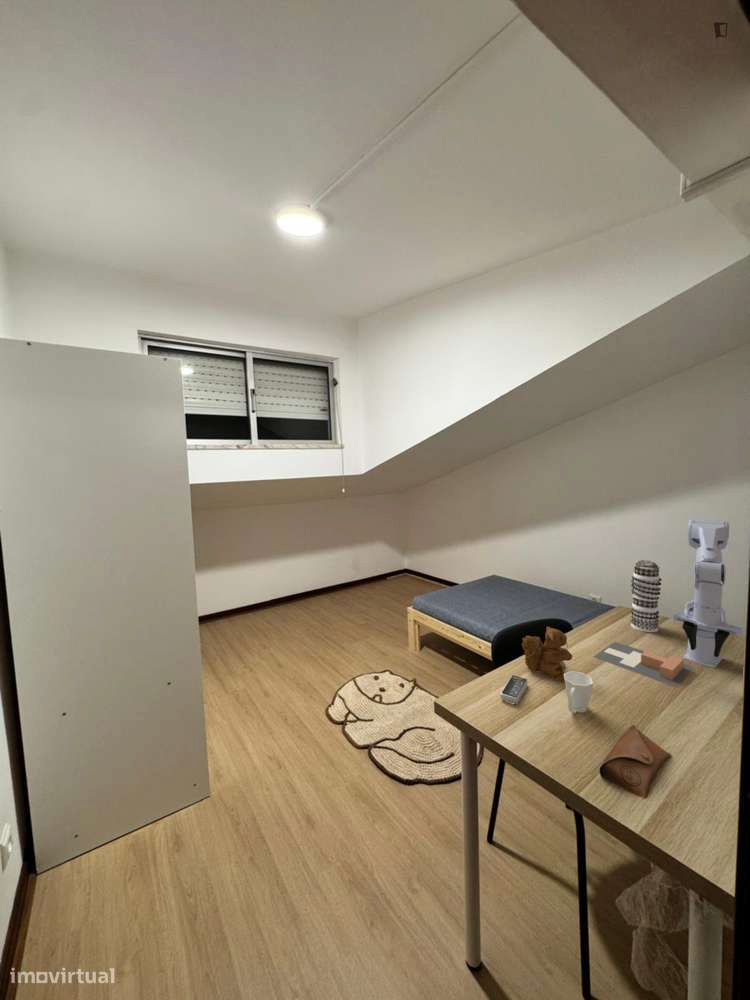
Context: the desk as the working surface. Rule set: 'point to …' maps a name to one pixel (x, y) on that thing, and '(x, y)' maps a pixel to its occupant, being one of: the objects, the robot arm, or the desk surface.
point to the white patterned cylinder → (645, 596)
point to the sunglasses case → (634, 762)
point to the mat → (637, 663)
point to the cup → (578, 691)
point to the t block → (663, 664)
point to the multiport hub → (514, 689)
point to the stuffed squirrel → (547, 653)
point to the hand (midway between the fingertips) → (704, 652)
